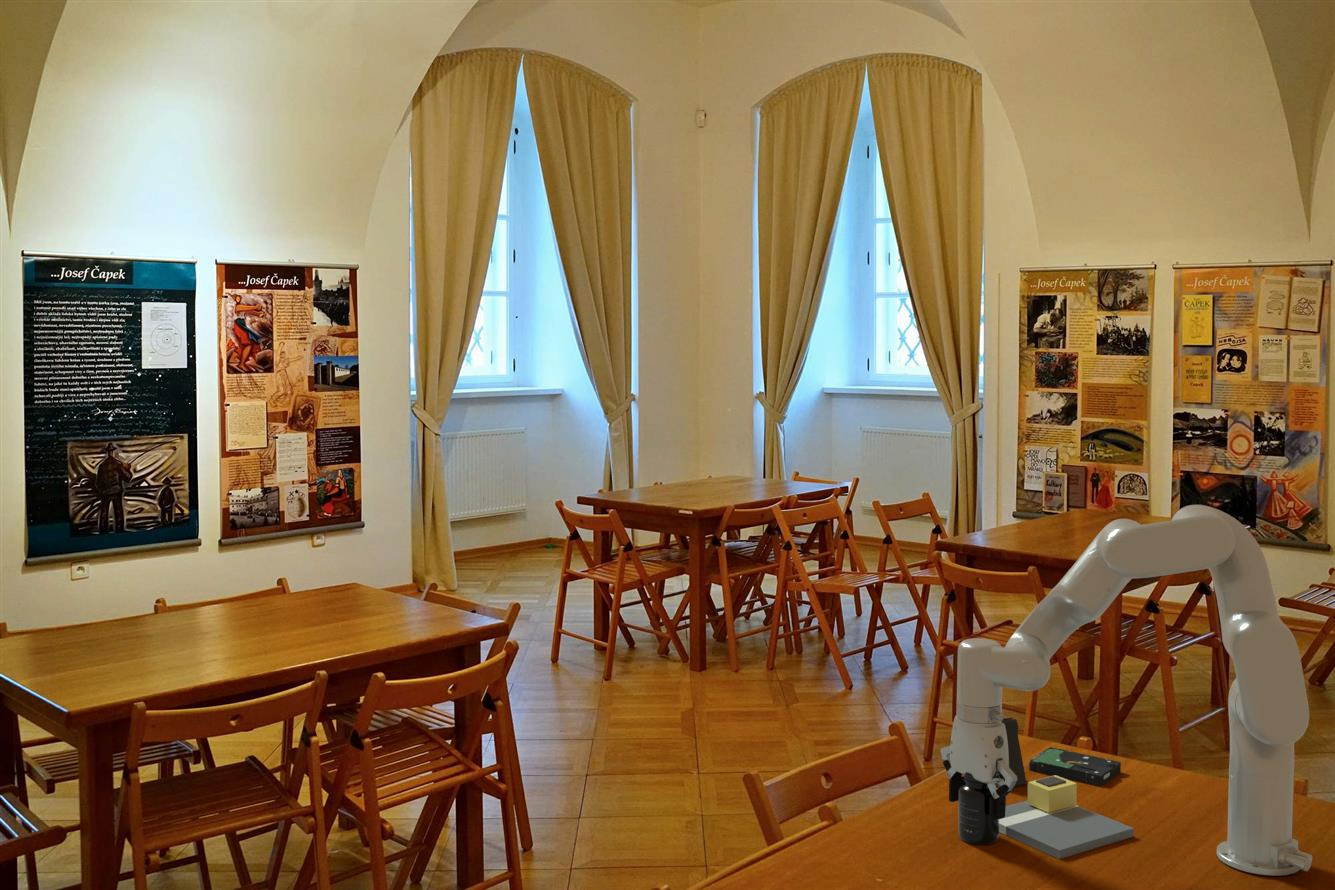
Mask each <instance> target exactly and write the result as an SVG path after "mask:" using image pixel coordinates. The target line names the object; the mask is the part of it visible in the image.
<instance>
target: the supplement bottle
mask: <svg viewBox="0 0 1335 890" xmlns="http://www.w3.org/2000/svg"><path fill="white" fill-rule="evenodd" d="M963 776H964V781H965V783H963V784H962V785H961V786H960V787H959V790H958V801H957V802H958V803H957V807H958V810H957V812H958V813H957V815H958V819H957V821H958V828H957V829H958V836H959V838H960V839H961V840H962V841H963V842H965V843H968V844H971V845H976V846H977V845H979V846H981V845H982V846H988V845H992V844H994V843H996V842H997V841H998V840H999V837H1000V832H999V819H998V820H994V821H992V820H990V819H989V798H990V797H992V794H991V792H990V789H989V787H988V785H987V784H985V783H982V782H980V781H978V780H976V779H974V777H973V775H972V774H970V773H968V772H966V774H965V775H963ZM992 779H993V777H992Z"/></svg>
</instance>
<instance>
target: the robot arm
mask: <svg viewBox="0 0 1335 890" xmlns="http://www.w3.org/2000/svg"><path fill="white" fill-rule="evenodd" d="M1267 563H1268V562H1267V560H1266V557H1265V554H1264V552H1263V550H1262V548H1261V547H1260V544H1259V543H1258V541H1257V540H1256V538H1255V537H1254V535H1253V534H1252V533H1251V532H1250V530H1249V529H1247V527H1245V526H1244V525H1243V524H1242V523H1241V522H1240V521H1239V520H1237V519H1236V518H1235V517H1233V516H1231V515H1230V514H1228V513H1226V512H1224V511H1222V510H1220V509H1217V508H1216V507H1215V508H1214V507H1211V506H1208V505H1204V504H1190V505H1185V506H1183V507H1181V508H1180V509H1179V510H1178V511H1176V513H1174V515H1173V516H1172V517H1171V520H1166V521H1160V522H1159V521H1158V522H1155V523H1154V522H1153V523H1147V524H1144V523H1143V524H1142V523H1140V522H1137V521H1135V520H1132V519H1130V518H1118V519H1115V520H1112V521H1111V522H1109V523H1108V524H1106V525H1105V526H1104V527H1103V528H1102V529H1101V530H1100V531H1099V533H1098V534H1097V535H1096V537H1094V539H1093V540H1092V541H1091V542H1090V544H1089V545H1088V546H1087V547H1086V548H1085V550H1084V551H1083V553H1081V554H1080V556H1079V558H1078V559H1077V560H1076V561H1075V562H1074V564H1073V565H1072V566H1071V568H1069V569H1068V571H1067V572H1066V573H1065V575H1064V576H1063V577H1062V578H1061V579H1060V580H1059V582H1058V583H1057V584H1056V585H1055V586H1054V587H1053V588H1052V589H1051V590H1050V591H1049V593H1047V595H1046V596H1045V597H1044V598H1043V599H1042V600H1041V601H1040V602H1039V603H1038V604H1037V605H1036V606H1035V607H1034V608H1033V609H1032V610H1031V612H1030V613H1029V614H1028V615H1027V616H1026V618H1025V619H1024V620H1023V621H1022V622H1021V623H1020V625H1019V626H1018V627H1017V629H1016V630H1015V631H1014V632H1013V634H1012V635H1011V636H1010V638H1009V639H1008V640H1007V642H1006V644H1005V646H1004V647H1003V646H1002V645H1001V643H999V642H998V641H995V640H993V639H989V638H982V637H981V638H980V637H977V638H975V637H973V638H967V639H963V640H962V641H961V642H960V643H959V645H958V647H957V666H956V667H957V669H956V670H957V674H956V679H957V680H956V707H955V708H956V715H955V716H954V718H953V723H952V729H951V737H950V745H948V746H944V747H941V748H940V754H941V758H942V760H943V763H942V764H943V767H944V768H945V771H946V774H945V775H946V777H947V779H949V780H948V801H949V802H950V803H955V802H958V790H959V787H960V786H961V785H962V784H963V783H965V781H964V775H965V774H966V772H968V773H970V774H972V775H973V777H974V779H976V780H978V781H980V782H982V783H985V784H987V785H988V787H989V789H990V792H991V794H992V797H990V798H989V819H990V820H992V821H994V820H998V819H1002V818H1004V817H1005V809H1006V806H1007V805H1006V804H1007V802H1006V801H1007V797H1008V796H1009V795H1010V793H1012V792H1013V790H1014V789H1015V787H1014V786H1015V784H1016V782H1017V776H1016V775H1015V774H1014V772H1013V771H1012V770H1011V769H1010V768H1009V753H1008V741H1007V734H1006V728H1005V724H1004V723H1001V721H1002V720H1003V719H1005V715H1004V713H1003V712H1002V711H1003V710H1002V708H1003V688H1004V687H1005V688H1008V689H1012V690H1017V691H1024V692H1032V691H1033V692H1034V691H1037V690H1040V689H1042V688H1043V687H1044V686H1045V685H1046V684H1048V682H1049V680H1050V678H1051V673H1052V672H1051V662H1050V659H1051V658H1052V657H1053V656H1054V654H1055V653H1056V652H1057V651H1058V649H1059V648H1060V647H1061V646H1062V644H1063V643H1064V642H1065V641H1066V640H1067V639H1068V638H1069V637H1070V636H1071V635H1072V634H1074V632H1075V631H1076V630H1078V629H1079V628H1081V627H1082V626H1084V625H1085V624H1086V625H1087V624H1088V623H1091V622H1094V621H1096V620H1097V619H1099V618H1100V617H1101V616H1102V615H1103V614H1104V613H1105V611H1106V610H1107V609H1108V608H1109V607H1110V606H1111V605H1112V603H1113V602H1114V600H1115V599H1116V598H1117V597H1118V595H1119V594H1120V593H1121V592H1122V590H1124V588H1125V587H1126V585H1127V584H1128V583H1130V582H1131V580H1132V579H1147V578H1155V577H1156V578H1157V577H1161V576H1162V577H1163V576H1169V575H1174V574H1182V573H1183V574H1184V573H1187V572H1189V573H1190V572H1195V571H1201V570H1207V569H1208V570H1209V573H1210V576H1211V579H1212V584H1213V587H1214V588H1213V589H1214V592H1215V596H1216V600H1217V601H1216V602H1217V603H1216V604H1217V608H1218V615H1219V621H1220V629H1221V639H1222V640H1221V641H1222V643H1223V646H1224V649H1225V651H1226V652H1227V654H1228V655H1229V656H1230V657H1231V660H1232V661H1233V667H1234V671H1235V679H1234V680H1233V682H1232V683H1231V686H1230V687H1229V692H1228V701H1227V705H1228V706H1227V707H1228V708H1227V709H1228V723H1229V725H1228V727H1229V766H1228V767H1229V768H1228V800H1227V801H1228V802H1227V835H1226V837H1227V839H1226V840H1225V841H1222V842H1220V843H1218V845H1217V846H1216V855H1217V857H1218V859H1219V860H1220V861H1221V862H1222V863H1224V864H1226V865H1227V866H1229V867H1231V868H1234V869H1236V870H1239V871H1242V872H1246V873H1250V874H1255V875H1261V876H1272V877H1273V876H1276V877H1277V876H1279V877H1280V876H1281V877H1282V876H1288V875H1292V874H1296V873H1298V872H1299V871H1300V870H1301V871H1303V872H1304V871H1305V872H1308V871H1309V870H1310V868H1311V866H1312V862H1313V859H1314V858H1313V855H1312V854H1310V853H1307V852H1304V851H1300V850H1299V839H1295V838H1293V836H1292V835H1293V804H1294V777H1295V776H1294V773H1295V743H1297V742H1298V741H1299V740H1300V739H1301V738H1302V737H1303V736H1304V735H1305V733H1306V732H1307V729H1308V726H1309V721H1310V706H1309V701H1308V694H1307V688H1306V684H1305V683H1306V682H1305V678H1304V677H1305V676H1304V671H1303V665H1302V660H1301V659H1302V658H1301V655H1300V651H1299V647H1298V644H1297V640H1296V638H1295V636H1294V634H1293V633H1292V630H1291V629H1290V628H1289V627H1288V626H1287V625H1286V624H1285V623H1284V622H1283V620H1282V619H1281V617H1280V615H1279V612H1278V607H1277V604H1276V598H1275V593H1274V588H1273V584H1272V579H1271V575H1270V571H1269V567H1268V564H1267ZM992 777H995V778H993V779H992ZM1004 780H1005V782H1004ZM995 783H997V784H998V786H999V789H998V788H996V786H995Z"/></svg>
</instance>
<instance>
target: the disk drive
mask: <svg viewBox="0 0 1335 890" xmlns="http://www.w3.org/2000/svg"><path fill="white" fill-rule="evenodd" d="M1121 763H1122V762H1121V761H1117V760H1115V759H1114V760H1113V759H1109V758H1103V757H1098V756H1093V755H1089V754H1084V753H1081V752H1080V753H1079V752H1075V751H1070V750H1066V749H1062V748H1057V747H1052V746H1049V747H1048V748H1046V749H1044V750H1043V751H1041V752H1039V754H1038V755H1036V756H1035V757H1033V758H1030V759H1029V762H1028V770H1029V772H1031V771H1032V772H1036V773H1040V774H1044V775H1049V776H1054V775H1056V776H1059V777H1061V778H1064V779H1067V780H1069V781H1075V782H1080V783H1084V784H1088V785H1093V786H1097V787H1102V786H1104V785H1105V784H1107V783H1108V782H1109V781H1110V780H1112V779H1113V778H1115V777H1116V776H1118V775H1119V774H1121V770H1122V769H1121V766H1122V765H1121Z"/></svg>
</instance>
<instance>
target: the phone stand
mask: <svg viewBox="0 0 1335 890" xmlns="http://www.w3.org/2000/svg"><path fill="white" fill-rule="evenodd" d="M1001 723H1004V724H1005V728H1006V734H1007V741H1008V753H1009V768H1010V769H1011V770H1012V771H1013V772H1014V774H1015V775H1016V776H1017V782H1016V784H1015V786H1014V788H1017V787H1025V786H1028V782H1027V778H1026V773H1025V768H1024V767H1025V766H1024V761H1023V756H1022V750H1021V746H1020V745H1021V744H1020V740H1019V723H1018V721H1017V719H1016V718H1013V717H1006V718H1005V717H1004V719H1003V720H1002V721H1001ZM993 778H995V777H993ZM1004 782H1005V780H1004ZM995 786H996V787H997V789H999V786H998V784H997V783H995Z"/></svg>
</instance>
